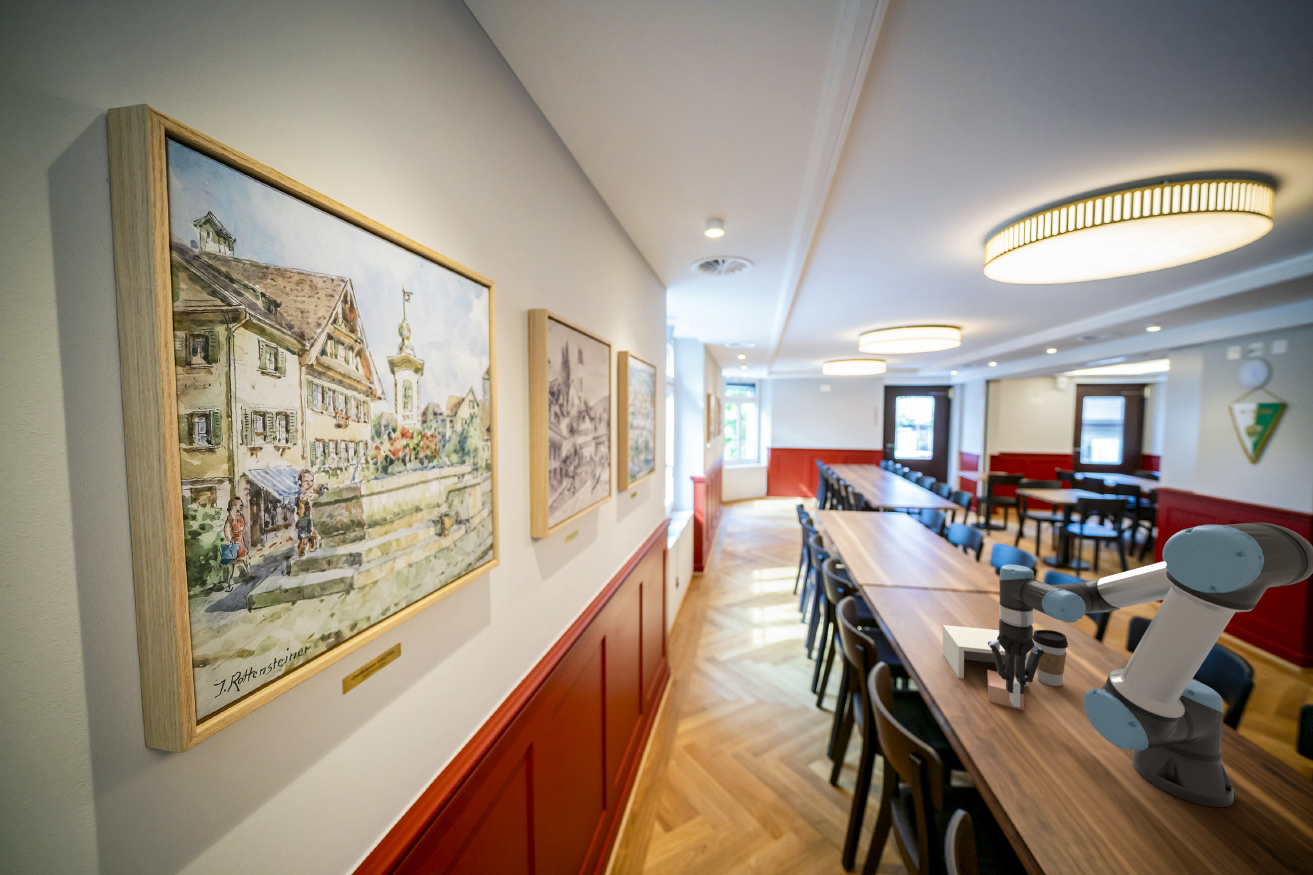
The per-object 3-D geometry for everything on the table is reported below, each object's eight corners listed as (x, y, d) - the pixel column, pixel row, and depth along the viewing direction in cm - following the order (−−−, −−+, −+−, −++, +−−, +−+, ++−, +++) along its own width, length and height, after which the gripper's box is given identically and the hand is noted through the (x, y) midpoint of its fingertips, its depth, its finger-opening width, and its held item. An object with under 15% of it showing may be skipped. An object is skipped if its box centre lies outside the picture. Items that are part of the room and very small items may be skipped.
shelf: (1028, 686, 143) (1029, 653, 143) (958, 677, 148) (958, 646, 148) (1005, 660, 158) (1006, 630, 158) (942, 653, 164) (942, 624, 163)
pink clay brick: (1023, 710, 132) (1023, 693, 131) (988, 701, 136) (988, 685, 136) (1019, 693, 140) (1019, 676, 140) (987, 685, 144) (987, 669, 144)
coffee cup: (1074, 689, 141) (1074, 640, 140) (1042, 686, 143) (1042, 638, 142) (1056, 674, 149) (1056, 628, 149) (1026, 672, 151) (1026, 626, 150)
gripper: (1036, 618, 132) (1035, 699, 133) (983, 613, 136) (982, 692, 137) (1050, 629, 125) (1049, 715, 126) (994, 624, 129) (993, 707, 129)
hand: (1014, 703), depth 131 cm, fingers closed
